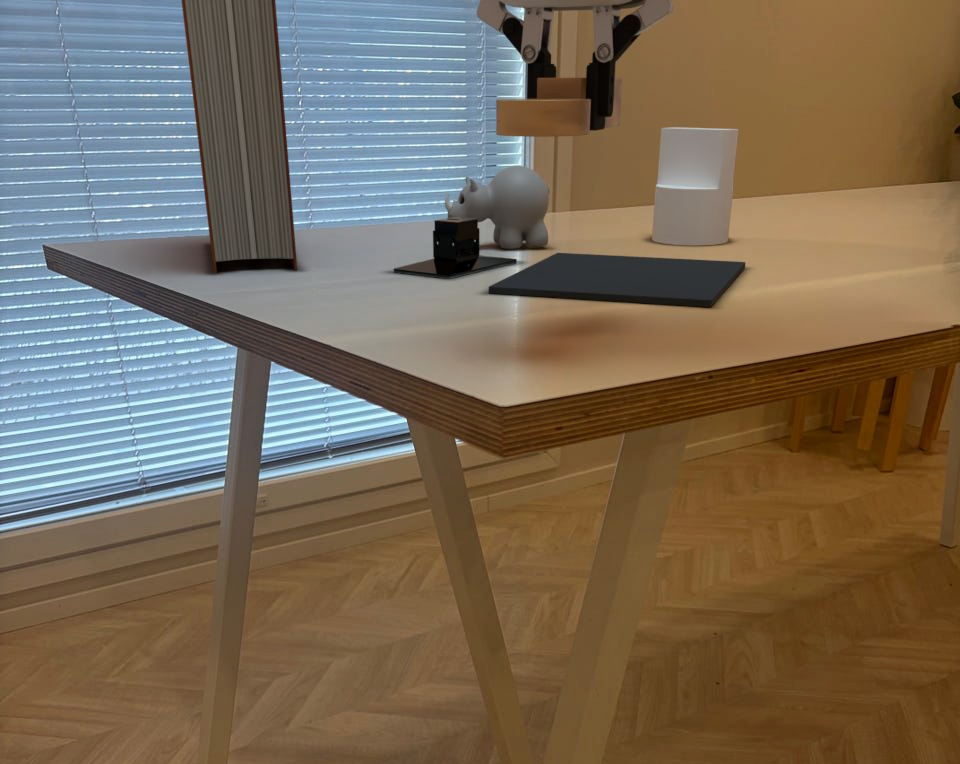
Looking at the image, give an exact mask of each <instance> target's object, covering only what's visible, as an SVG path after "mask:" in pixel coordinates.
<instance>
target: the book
mask: <svg viewBox="0 0 960 764" xmlns="http://www.w3.org/2000/svg"><path fill="white" fill-rule="evenodd" d="M276 3H277V2H276V0H181V6H182V8H181V9H182V17H183V25H184V33H185V43H186V50H187V58H188V59H187V60H188V66H189V67H188V68H189V75H190V84H191V91H192V100H193V101H192V102H193V109H194V117H195V125H196V126H195V127H196V133H197V142H198V152H199V159H200V166H201V168H200V169H201V175H202V183H203V193H204V201H205V209H206V218H207V226H208V227H207V228H208V235H209V243H210V249H211V257H212V263H213V269H214V274H215V275H218V268H217V262H225V261H226V262H227V261H236V260H239V261H240V260H256V259H260V260H261V259H287V260H289V262H290V264H291V266H292V268H293V269H294V271H296V272H297V271H298V262H297V261H298V260H297V247H296V236H295V235H296V234H295V225H294V213H293V210H294V209H293V199H292V187H291V176H290V174H291V173H290V163H289V161H290V160H289V151H288V139H287V138H288V137H287V127H286V126H287V125H286V115H285V114H286V113H285V103H284V90H283V79H282V66H281V55H280V54H281V53H280V41H279V40H280V39H279V29H278V17H277V6H276V5H277V4H276Z"/></svg>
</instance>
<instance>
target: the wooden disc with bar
mask: <svg viewBox="0 0 960 764" xmlns="http://www.w3.org/2000/svg"><path fill="white" fill-rule="evenodd" d="M586 84H587V78H586V77H556V78H537V99H527V98H501V99H500V98H499V99H495V135H496V136H501V137H528V138H529V137H531V138H532V137H533V138H534V137H539V138H540V137H542V138H543V137H544V138H546V137H548V138H549V137H579V136H589V135H590V133H591V131H590V112H591V99H586ZM622 88H623V78H622V77H615V83H614V103H613V113H612V116H611V117H606V119H605V128H604V129H608V128H615V127H619V126H621V105H622Z"/></svg>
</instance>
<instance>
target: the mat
mask: <svg viewBox="0 0 960 764" xmlns="http://www.w3.org/2000/svg"><path fill="white" fill-rule="evenodd" d="M745 269H746V262H745V261H733V260H731V261H730V260H713V259H711V260H710V259H694V258H693V259H692V258H675V257H674V258H672V257H670V258H669V257H653V256H652V257H651V256H650V257H649V256H633V255H632V256H629V255H614V254H613V255H612V254H611V255H609V254H592V253H571V252H570V253H569V252H556V253H554V254H551V255H550V256H548V257H546V258H544V259H542V260H540V261H538V262H536V263H534V264H532V265H529V266H528V267H526V268H524V269H521V270H520V271H517V272H516V273H513V274H511V275H509V276H507V277H505V278H503V279H501V280H499V281H497V282H495V283H493V284H491V285H489V286H488V294H494V295H510V296H511V295H512V296H524V297H525V296H526V297H540V298H541V297H543V298H556V299H558V298H559V299H572V300H573V299H574V300H587V301H588V300H589V301H606V302H621V303H634V304H635V303H637V304H651V305H652V304H653V305H669V306H683V307H684V306H685V307H701V308H712V307H713V305H714V304H715V303H716V302H717V301H718V300H719V299H720V297H721V296H722V295H723V294H724V293H725V292H726V290H727V289H728V288H729V287H730V286H731V285H732V284H733V282H734V281H736V279H737V278H738V277H739V276H740V275H741V273H742V272H743V271H744V270H745Z"/></svg>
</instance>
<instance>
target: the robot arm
mask: <svg viewBox="0 0 960 764" xmlns="http://www.w3.org/2000/svg"><path fill="white" fill-rule="evenodd" d="M506 6H509V7H512V8H519V9H520V8H521V9H524V14H523V15H524V16H523V19H522V18H519V17H518V16H516V15H514V14H513V12H511V11H509V10H508V9H507V7H506ZM635 8H637V9H636V10H634V11H633V12H631V13H630V14H627V15H625V16H624V17H623V18H622V10H625V9H635ZM568 11H569V12H570V11H571V12H572V11H592V14H593V15H592V16H593V18H592V19H593V39H594V40H593V41H594V51H593V52H592V56H591V57H592V59H591V60H592V61H591V62H589V63H588V64H587V65H586V70H585V71H586V73H585V78H587V84H586V99H591V112H590V132H591V131H592V132H593V131H594V132H595V131H601V130H604V129H606V128H605V119H606V117H611V116H612V113H613V103H614V83H615V78H616V64H617V63H618V62H619V61H620V60H621V58H622V56H623V54H624V53H626V52H627V50H628V49H629V48H630V47H631V46H632V45H633V43H634V42H635V41H636V40H637V39H638V38H639V37H640V36H641V35H642V33H644V32H645V31H647V30H649V29H651V28H652V27H654V26H655V25H657V24H659V23H661V21H664V20H665V19H667V18H669V16H671V15H672V13H673V12H674V2H673V0H480V1H479V4H478V6H477V8H476V16H477V18H478V19H479V20H480V21H482V22H483V23H485V24H486V25H488V26H489V27H491V28H492V29H494V30H496V31H497V32H499V33H500V34H502V35H504V36H505V38H506V39H507V40H508V41H509V43H511V45H512V46H513V47H514V49H515V50H516V51H517V52H518V53H519V54H520V57H521V59H522V61H523V62H524V63H525V64H527V65H526V99H537V78H557V66H556V65H555V63H552V53H551V52H550V51H551V44H552V43H551V42H552V34H553V26H554V25H553V24H554V14H555V12H568Z"/></svg>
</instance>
